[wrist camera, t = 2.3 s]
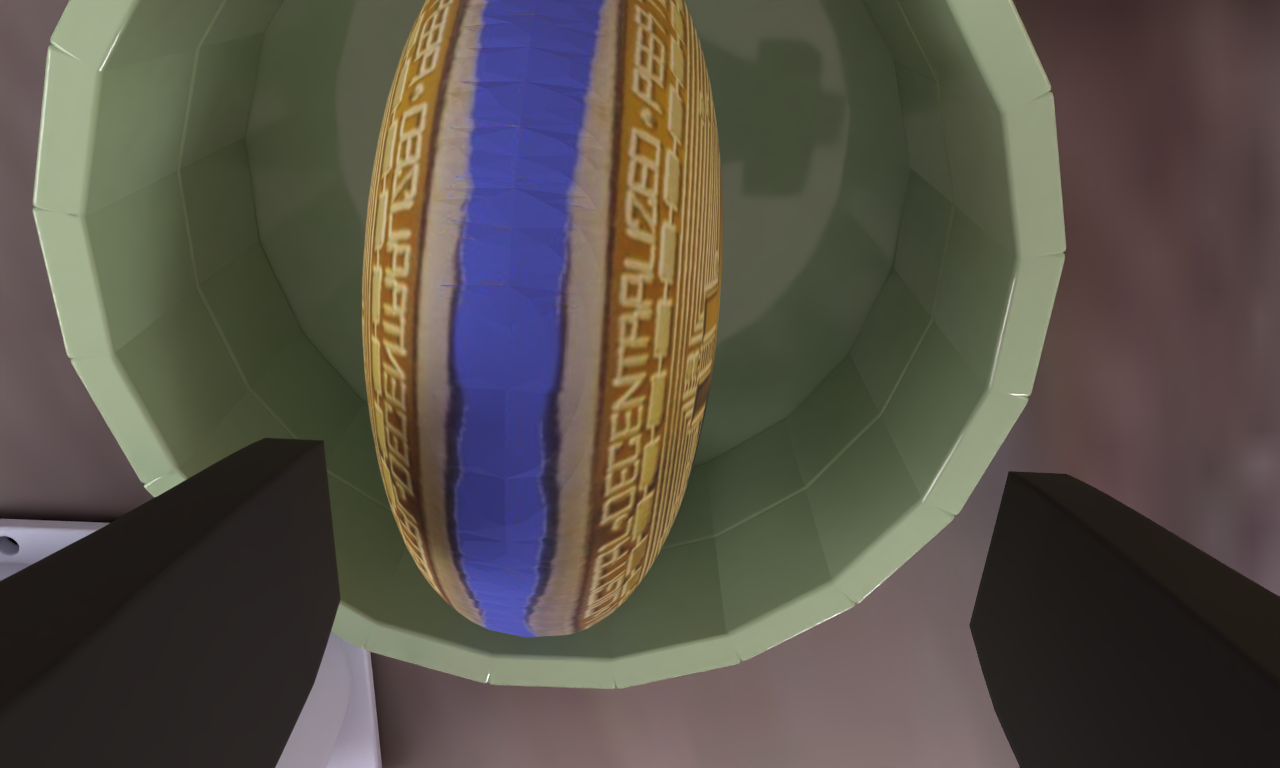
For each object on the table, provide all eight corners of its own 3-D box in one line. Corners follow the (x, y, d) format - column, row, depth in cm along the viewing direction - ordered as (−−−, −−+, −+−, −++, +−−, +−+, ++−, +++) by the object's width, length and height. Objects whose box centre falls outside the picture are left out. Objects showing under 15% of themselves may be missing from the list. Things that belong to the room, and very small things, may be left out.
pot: (266, 490, 22) (141, 674, 16) (157, -242, 16) (-102, -338, 10) (878, 513, 22) (955, 703, 16) (1008, -197, 16) (1198, -268, 10)
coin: (775, 382, 20) (881, 742, 11) (519, 445, 21) (426, 833, 12) (654, -110, 16) (671, -172, 7) (343, -12, 17) (-2, 47, 8)
